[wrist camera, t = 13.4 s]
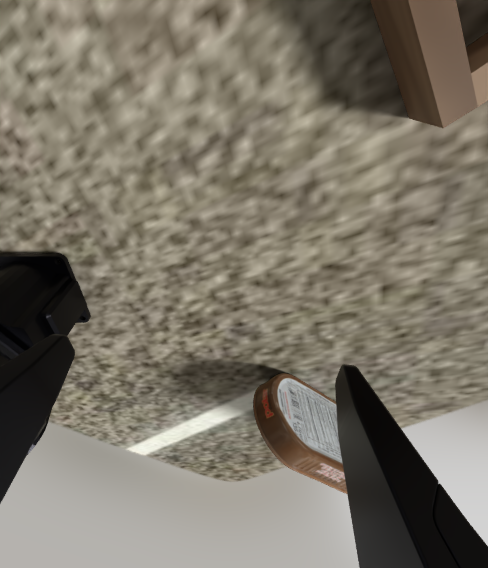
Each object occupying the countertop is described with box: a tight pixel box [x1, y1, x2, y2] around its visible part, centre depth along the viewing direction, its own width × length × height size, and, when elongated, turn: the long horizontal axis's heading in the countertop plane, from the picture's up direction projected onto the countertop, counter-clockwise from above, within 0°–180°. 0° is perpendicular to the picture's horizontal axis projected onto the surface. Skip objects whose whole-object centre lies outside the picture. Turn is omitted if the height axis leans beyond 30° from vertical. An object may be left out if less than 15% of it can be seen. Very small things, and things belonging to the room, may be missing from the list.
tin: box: [253, 373, 347, 494], centre depth 29 cm, size 15×3×8 cm, turn 48°
